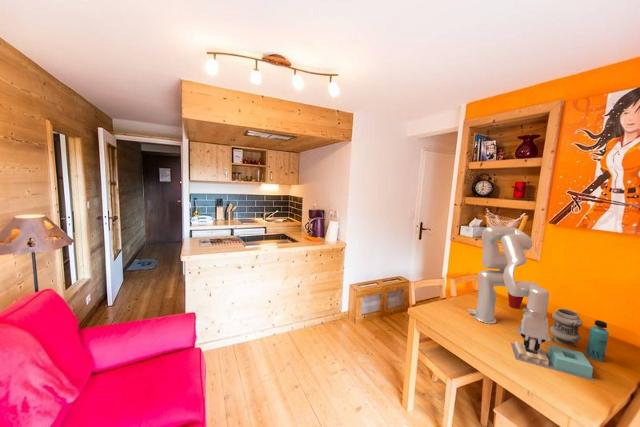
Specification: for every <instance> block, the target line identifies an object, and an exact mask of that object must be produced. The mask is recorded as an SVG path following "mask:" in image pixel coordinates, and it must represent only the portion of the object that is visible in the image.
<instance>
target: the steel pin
mask: <svg viewBox="0 0 640 427" xmlns="http://www.w3.org/2000/svg"><path fill="white" fill-rule="evenodd" d="M528 341H529V344H528V349H527V350H526V352H530V353H534V354H535V348H536V341H537V338H534V337H530V336H529V337H528Z"/></svg>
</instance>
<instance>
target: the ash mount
mask: <svg viewBox="0 0 640 427" xmlns="http://www.w3.org/2000/svg"><path fill="white" fill-rule="evenodd" d="M514 344H515V348H516V351H517V354H518V357H519V358H521V359H525V360H528V361H532V362H536V363H539V364H543V365H547V366H548V363H549V360H548V358H547V356H546V354H545V352H546V351H545V352H544V347H540V348H539V349H538V352H537V351H535V354H534V353H530V352H526V350H527V349H526V347H525V346H524V342H522V341H521V342H520V341H517V340H516V341H515V342H514Z"/></svg>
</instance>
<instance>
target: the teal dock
mask: <svg viewBox="0 0 640 427" xmlns="http://www.w3.org/2000/svg"><path fill="white" fill-rule="evenodd" d="M547 352H548V355H549V357H550V359H551V361H552V363H553V365H554V367H555V369H559V370H563V371H566V372H570V373H573V374H577V375H581V376H584V377H588V378H592V376H593V370H594V367H593V366H592V365H591V363H590V362H589V360H588V359H587V357H586V356H585V354H584V353H583V352H582V351H578V350H574V349H570V348H565V347H562V346H561V347H560V346H558V345H553V344H549V345H548V351H547Z"/></svg>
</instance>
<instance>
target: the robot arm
mask: <svg viewBox="0 0 640 427" xmlns="http://www.w3.org/2000/svg"><path fill="white" fill-rule="evenodd" d="M481 241H482V254H481V255H482V257H481V263H482V266H483V267H484V268H487V269H483V270H481V271H479V272H478V276H477V280H478V293H477V302H476V308H475V309H472V308H468V309H467V312H468V313H470V314H472V316H473V318H474V319H475V320H476V321H479V322H480V321H481V323H483V322H484V324H488V325H489V324H490V325H491V324H492V325H494V324H497V322H498V321H497V318H496V317H495V310H496V303H497V292H496V290H495V287H505V289H506V291H507V294H508V293H509V294H510V295H512V296H516V297H524V298H527V301H526V306H525V308H522V312H524V313H523V315H522V316H521V321H520V326H519V327H518V328H517V329H515V332H516V333H517V334H518V335H519V336H521V337H522V338H523V343H524V346H525V347H526V349H528V344H529V341H528V337H529V336H530V337H534V338H537V341H536V348H535V351H537V352H538V349H539V348H541V345H542V343H545V342H549V341H552V338H551V337H550V335H549V330H550V329H549V328H550V326H549V319H548V317H547V312H548V308H549V300H550V292H549V290H547V289H545V288H543V287H541V286H540V285H539V284H537V283H536V282H533V281H524V280H523V281H521V280H520V281H518V280H516V278H515V274H514V273H515V269H516V268H518V267H521V266H523V265H525V264H527V262H528V260H527V257H526V254H525V251H528V250H531V249H532V247H533V240H532V238H531V237H530V236H529V235H528V234H526V233H525V232H523V231H522V230H520V229H518V228H516V227H512V226H494V225H493V226H486V227H485V228H484V229H483V230H482V232H481ZM497 241H498V242H497ZM499 242H500V243H501V246H502V249H503V252H504V253H503V252H502V253H501V252H500V246H499ZM524 250H525V251H524Z"/></svg>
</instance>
